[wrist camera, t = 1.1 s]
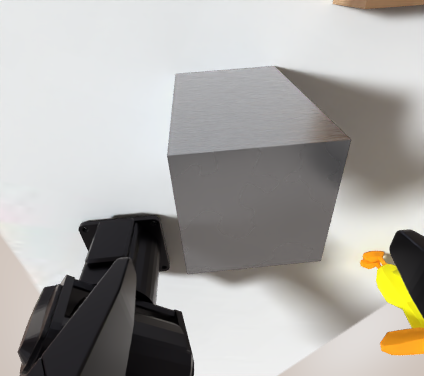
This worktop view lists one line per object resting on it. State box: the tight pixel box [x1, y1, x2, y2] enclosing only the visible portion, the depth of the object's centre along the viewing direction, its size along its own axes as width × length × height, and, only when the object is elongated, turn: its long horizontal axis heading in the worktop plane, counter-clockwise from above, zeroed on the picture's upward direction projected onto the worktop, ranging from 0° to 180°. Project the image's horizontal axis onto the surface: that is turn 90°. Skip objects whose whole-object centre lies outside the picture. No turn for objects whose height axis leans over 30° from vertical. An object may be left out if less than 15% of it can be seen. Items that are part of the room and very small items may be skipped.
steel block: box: [167, 66, 351, 274], centre depth 15 cm, size 6×6×10 cm
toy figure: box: [360, 251, 424, 355], centre depth 24 cm, size 7×4×12 cm, turn 95°
